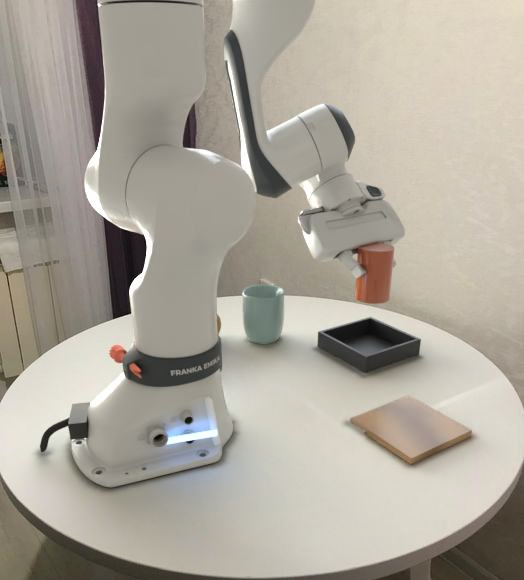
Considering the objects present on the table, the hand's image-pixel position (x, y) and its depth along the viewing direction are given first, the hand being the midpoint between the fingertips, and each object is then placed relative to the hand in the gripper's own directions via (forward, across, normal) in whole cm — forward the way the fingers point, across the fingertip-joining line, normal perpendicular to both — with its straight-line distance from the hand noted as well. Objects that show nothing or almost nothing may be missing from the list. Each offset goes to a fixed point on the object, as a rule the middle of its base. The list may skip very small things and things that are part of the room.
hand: (377, 271), depth 99 cm
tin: (+10, +1, +12) cm, 16 cm away
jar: (+3, 0, +4) cm, 5 cm away
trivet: (+25, -14, -2) cm, 29 cm away
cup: (-1, -10, +24) cm, 26 cm away
